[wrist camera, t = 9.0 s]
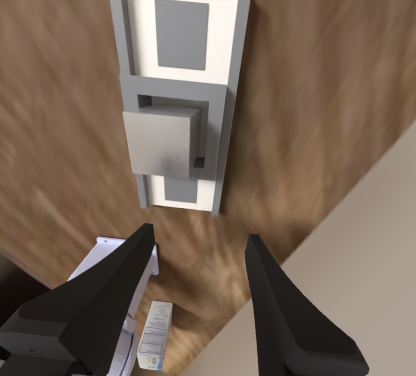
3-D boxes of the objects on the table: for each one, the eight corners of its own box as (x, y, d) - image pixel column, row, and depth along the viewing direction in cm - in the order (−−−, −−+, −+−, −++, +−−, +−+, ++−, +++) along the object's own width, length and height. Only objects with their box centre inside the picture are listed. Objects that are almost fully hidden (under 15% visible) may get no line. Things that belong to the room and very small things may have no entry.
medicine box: (153, 299, 36) (135, 353, 28) (173, 302, 36) (161, 357, 28) (154, 316, 40) (138, 368, 32) (172, 318, 40) (161, 371, 32)
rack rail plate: (145, 200, 23) (132, 218, 19) (118, -19, 13) (81, -58, 9) (218, 208, 23) (218, 228, 19) (250, -7, 12) (260, -42, 9)
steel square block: (162, 145, 18) (132, 173, 12) (160, 103, 16) (122, 111, 10) (199, 149, 18) (188, 178, 12) (201, 107, 16) (190, 117, 10)
